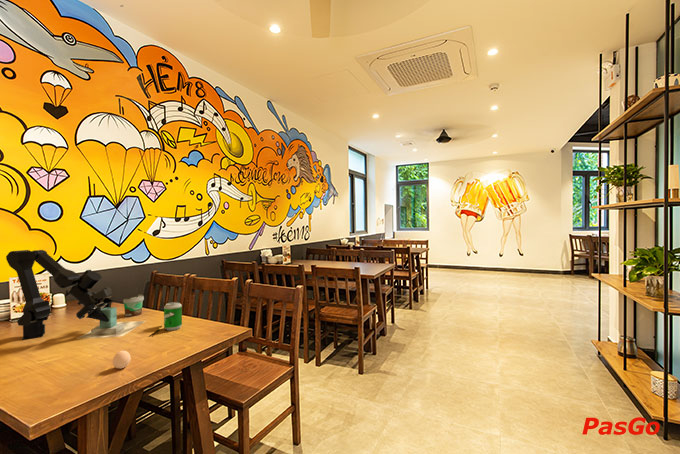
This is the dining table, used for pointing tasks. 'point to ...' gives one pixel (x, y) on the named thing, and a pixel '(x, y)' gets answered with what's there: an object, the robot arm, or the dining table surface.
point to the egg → (121, 359)
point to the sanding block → (108, 323)
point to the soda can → (172, 316)
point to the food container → (133, 306)
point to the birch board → (127, 328)
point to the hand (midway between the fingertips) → (111, 319)
